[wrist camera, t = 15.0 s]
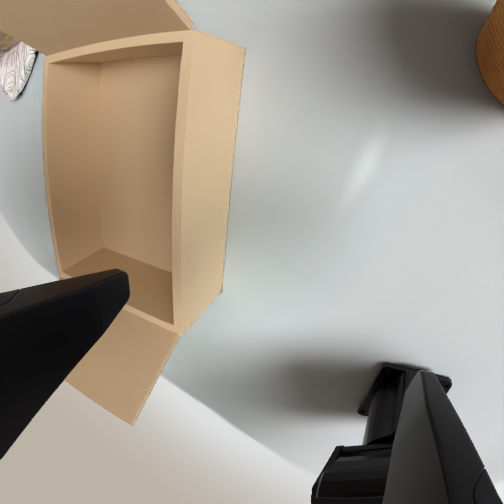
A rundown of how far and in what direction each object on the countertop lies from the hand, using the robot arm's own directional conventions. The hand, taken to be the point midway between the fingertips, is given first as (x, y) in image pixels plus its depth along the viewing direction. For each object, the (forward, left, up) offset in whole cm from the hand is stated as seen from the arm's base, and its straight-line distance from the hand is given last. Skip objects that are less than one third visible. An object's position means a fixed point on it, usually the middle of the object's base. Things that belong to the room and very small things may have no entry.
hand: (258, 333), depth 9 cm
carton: (0, +13, -13) cm, 19 cm away
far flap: (-11, +14, -4) cm, 18 cm away
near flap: (+11, +13, -4) cm, 18 cm away
